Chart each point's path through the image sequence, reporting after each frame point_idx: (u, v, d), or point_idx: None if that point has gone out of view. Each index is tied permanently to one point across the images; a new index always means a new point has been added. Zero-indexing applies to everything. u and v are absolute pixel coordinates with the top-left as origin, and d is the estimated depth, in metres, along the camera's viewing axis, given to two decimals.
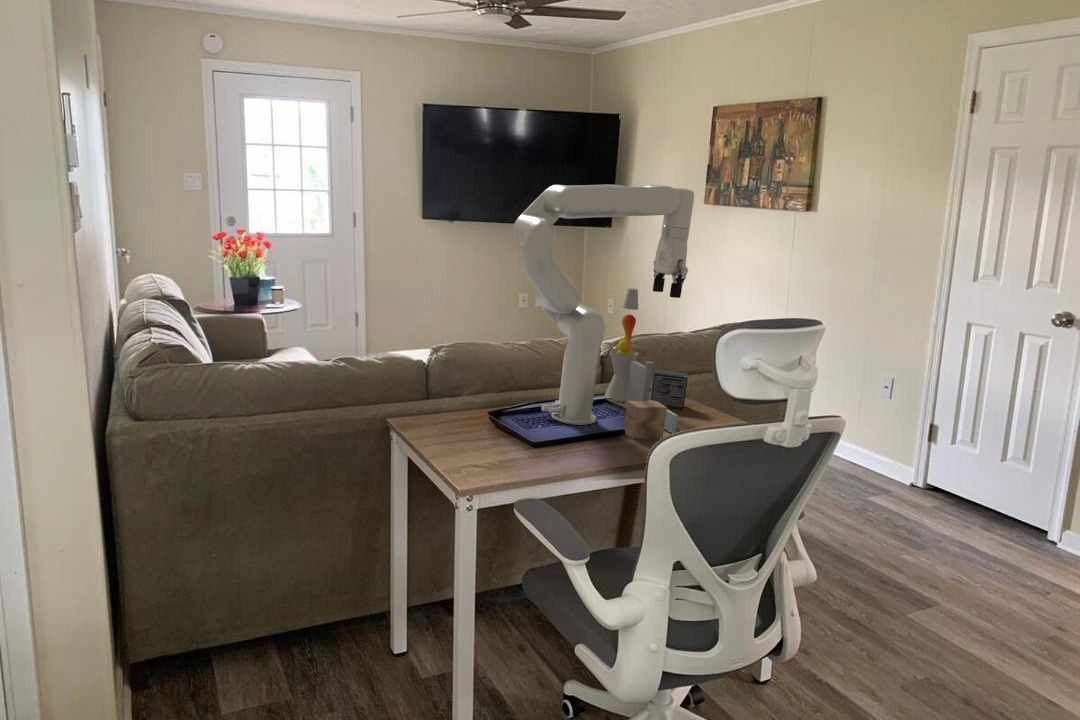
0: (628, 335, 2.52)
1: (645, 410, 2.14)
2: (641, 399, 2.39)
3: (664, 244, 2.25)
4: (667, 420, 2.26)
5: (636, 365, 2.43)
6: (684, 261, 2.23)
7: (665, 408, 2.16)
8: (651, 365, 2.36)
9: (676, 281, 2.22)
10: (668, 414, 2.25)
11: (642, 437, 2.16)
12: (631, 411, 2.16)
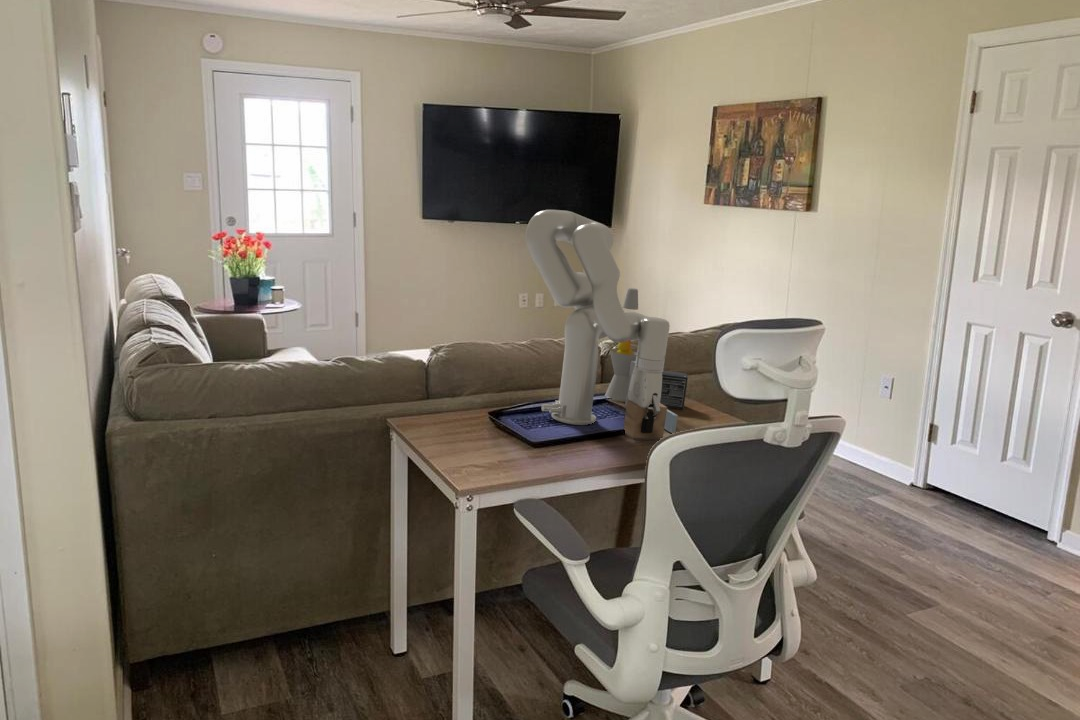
0: None
1: None
2: None
3: (638, 375, 2.14)
4: (667, 420, 2.26)
5: None
6: (659, 394, 2.12)
7: (665, 408, 2.16)
8: None
9: (647, 418, 2.13)
10: (668, 414, 2.25)
11: (642, 437, 2.16)
12: (631, 411, 2.16)
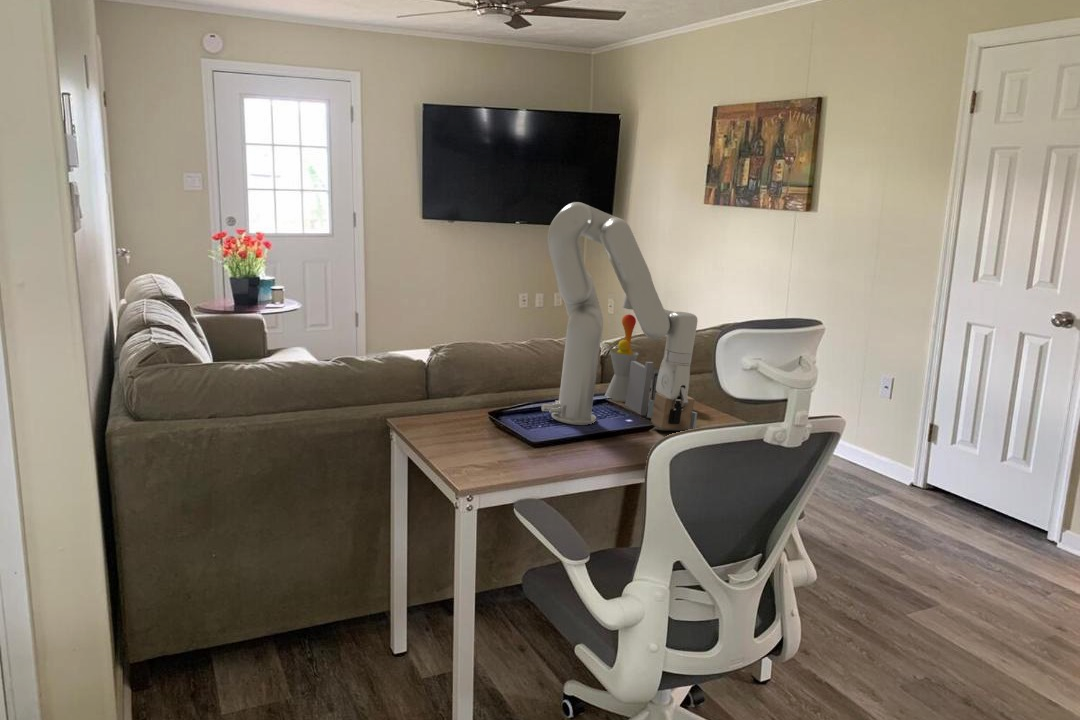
0: (629, 335, 2.52)
1: None
2: (641, 399, 2.39)
3: (667, 367, 2.21)
4: None
5: (636, 365, 2.43)
6: (687, 386, 2.19)
7: (692, 400, 2.23)
8: (651, 365, 2.36)
9: (675, 409, 2.20)
10: None
11: (670, 428, 2.23)
12: (659, 403, 2.23)
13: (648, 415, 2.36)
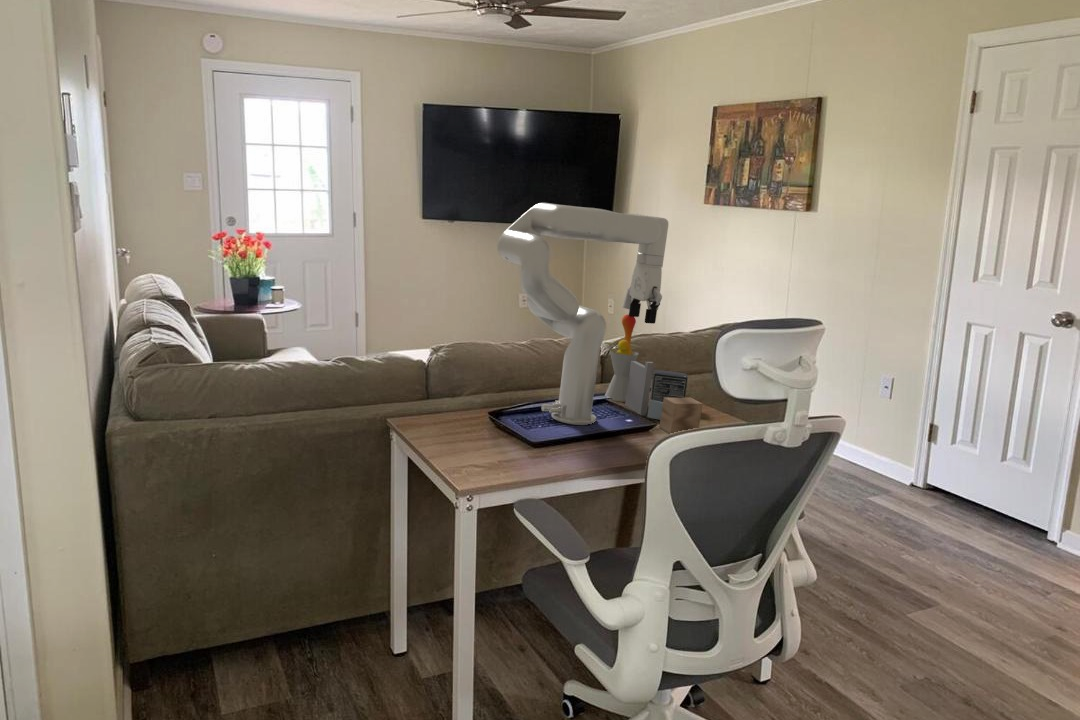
0: (628, 335, 2.52)
1: (682, 406, 2.22)
2: (641, 399, 2.39)
3: (639, 270, 2.30)
4: None
5: (636, 365, 2.43)
6: (658, 288, 2.28)
7: (701, 404, 2.25)
8: (651, 365, 2.36)
9: (651, 307, 2.27)
10: None
11: None
12: (668, 408, 2.24)
13: (649, 415, 2.37)
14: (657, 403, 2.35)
